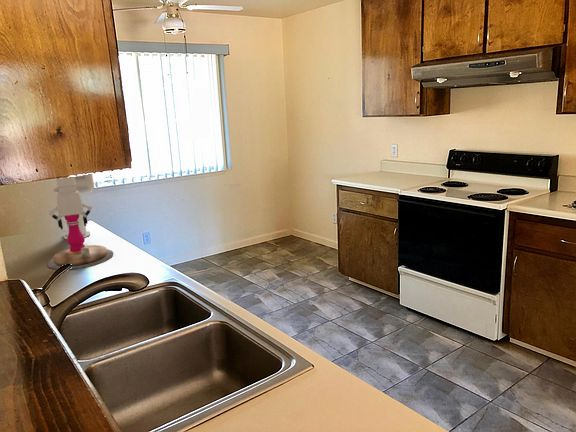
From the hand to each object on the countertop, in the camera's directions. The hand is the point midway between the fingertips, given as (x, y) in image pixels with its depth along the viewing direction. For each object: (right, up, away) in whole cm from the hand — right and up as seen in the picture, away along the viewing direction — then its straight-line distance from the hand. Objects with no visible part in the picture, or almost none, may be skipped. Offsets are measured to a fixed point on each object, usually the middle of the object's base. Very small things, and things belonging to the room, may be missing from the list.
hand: (73, 227), depth 207 cm
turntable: (+4, -14, -1) cm, 15 cm away
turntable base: (+4, -14, -1) cm, 15 cm away
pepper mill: (+1, -11, +3) cm, 11 cm away
